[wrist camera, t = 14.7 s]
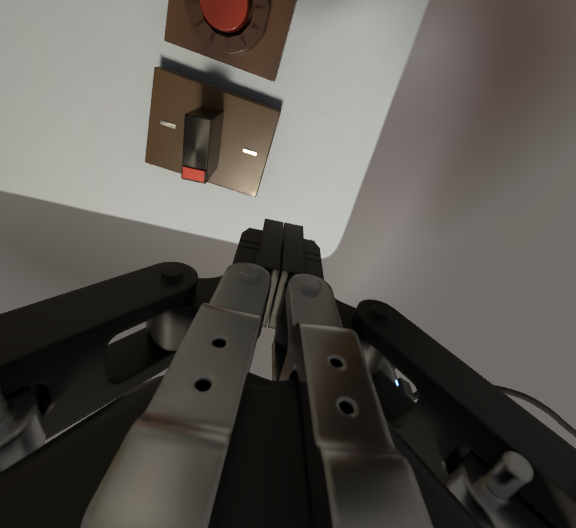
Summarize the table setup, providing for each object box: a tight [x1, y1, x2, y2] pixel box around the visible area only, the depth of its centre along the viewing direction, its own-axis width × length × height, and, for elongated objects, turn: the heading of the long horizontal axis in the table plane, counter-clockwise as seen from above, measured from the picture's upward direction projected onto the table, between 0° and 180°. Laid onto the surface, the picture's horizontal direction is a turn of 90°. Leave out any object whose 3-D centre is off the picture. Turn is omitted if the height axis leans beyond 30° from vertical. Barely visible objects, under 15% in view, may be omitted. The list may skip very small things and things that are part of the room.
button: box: [200, 0, 250, 33], centre depth 25 cm, size 4×4×2 cm
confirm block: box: [164, 0, 297, 81], centre depth 28 cm, size 10×8×4 cm
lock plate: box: [145, 67, 281, 197], centre depth 34 cm, size 12×9×2 cm
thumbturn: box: [181, 106, 224, 183], centre depth 30 cm, size 6×2×6 cm, turn 168°
